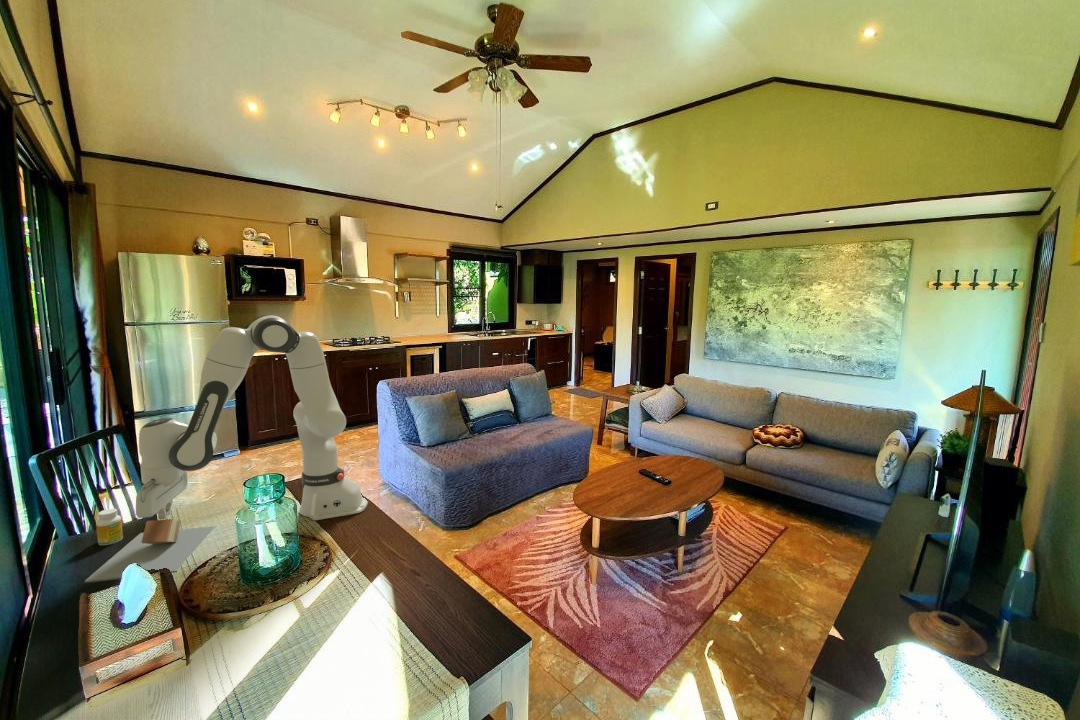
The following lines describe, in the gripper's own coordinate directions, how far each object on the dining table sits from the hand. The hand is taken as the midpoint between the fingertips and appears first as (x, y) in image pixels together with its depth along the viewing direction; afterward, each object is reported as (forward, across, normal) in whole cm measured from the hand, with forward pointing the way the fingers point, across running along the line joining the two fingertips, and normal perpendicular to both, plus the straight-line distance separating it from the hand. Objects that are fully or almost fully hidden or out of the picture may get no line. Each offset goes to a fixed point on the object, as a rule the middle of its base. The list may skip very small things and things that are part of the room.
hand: (164, 517), depth 131 cm
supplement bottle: (+8, +4, +16) cm, 18 cm away
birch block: (+5, 0, 0) cm, 5 cm away
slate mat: (+8, -5, 0) cm, 10 cm away
